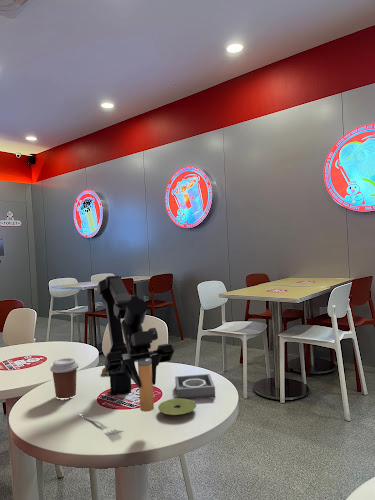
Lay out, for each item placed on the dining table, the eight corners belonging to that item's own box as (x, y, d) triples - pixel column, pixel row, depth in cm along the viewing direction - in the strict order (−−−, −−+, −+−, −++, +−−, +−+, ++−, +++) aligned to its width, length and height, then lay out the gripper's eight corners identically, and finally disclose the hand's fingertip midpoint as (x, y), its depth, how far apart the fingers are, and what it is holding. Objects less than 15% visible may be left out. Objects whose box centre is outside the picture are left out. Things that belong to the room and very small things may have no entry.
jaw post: (139, 412, 100) (137, 362, 99) (140, 406, 103) (138, 358, 103) (153, 411, 100) (151, 361, 100) (153, 405, 104) (151, 357, 103)
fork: (80, 410, 117) (79, 404, 117) (125, 436, 100) (124, 430, 100) (70, 414, 115) (70, 408, 115) (114, 441, 98) (114, 434, 98)
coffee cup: (53, 404, 122) (51, 367, 122) (50, 394, 130) (48, 359, 130) (82, 398, 126) (80, 362, 126) (77, 389, 134) (76, 355, 134)
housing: (177, 400, 120) (177, 389, 120) (175, 386, 132) (175, 376, 132) (215, 397, 121) (214, 386, 121) (209, 383, 133) (209, 373, 133)
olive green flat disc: (154, 407, 116) (154, 401, 116) (190, 401, 119) (190, 395, 119) (162, 424, 105) (162, 417, 105) (201, 417, 108) (201, 410, 108)
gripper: (104, 323, 101) (115, 377, 91) (170, 315, 108) (187, 364, 99) (100, 345, 109) (110, 398, 99) (162, 336, 116) (177, 384, 106)
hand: (147, 385), depth 100 cm, fingers closed on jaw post, 4 cm apart
